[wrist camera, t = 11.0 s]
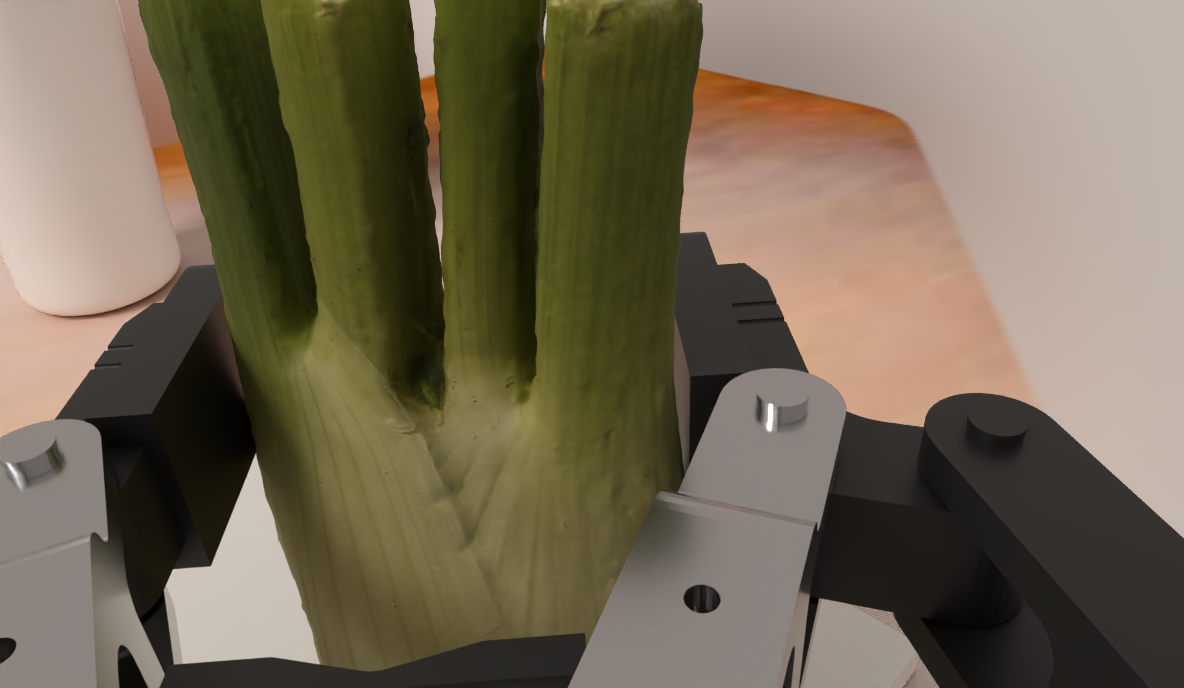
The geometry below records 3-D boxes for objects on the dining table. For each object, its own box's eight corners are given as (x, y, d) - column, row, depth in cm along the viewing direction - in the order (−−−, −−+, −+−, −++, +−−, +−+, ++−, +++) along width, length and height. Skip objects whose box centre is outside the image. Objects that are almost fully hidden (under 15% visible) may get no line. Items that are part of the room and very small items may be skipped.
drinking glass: (123, 228, 36) (-38, -209, 28) (246, 260, 34) (107, -217, 25) (-42, 309, 32) (-295, -192, 23) (86, 354, 29) (-150, -198, 20)
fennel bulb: (287, 722, 15) (33, -71, 9) (524, 573, 18) (461, -116, 11) (494, 1028, 11) (311, 24, 5) (756, 780, 14) (852, -79, 8)
